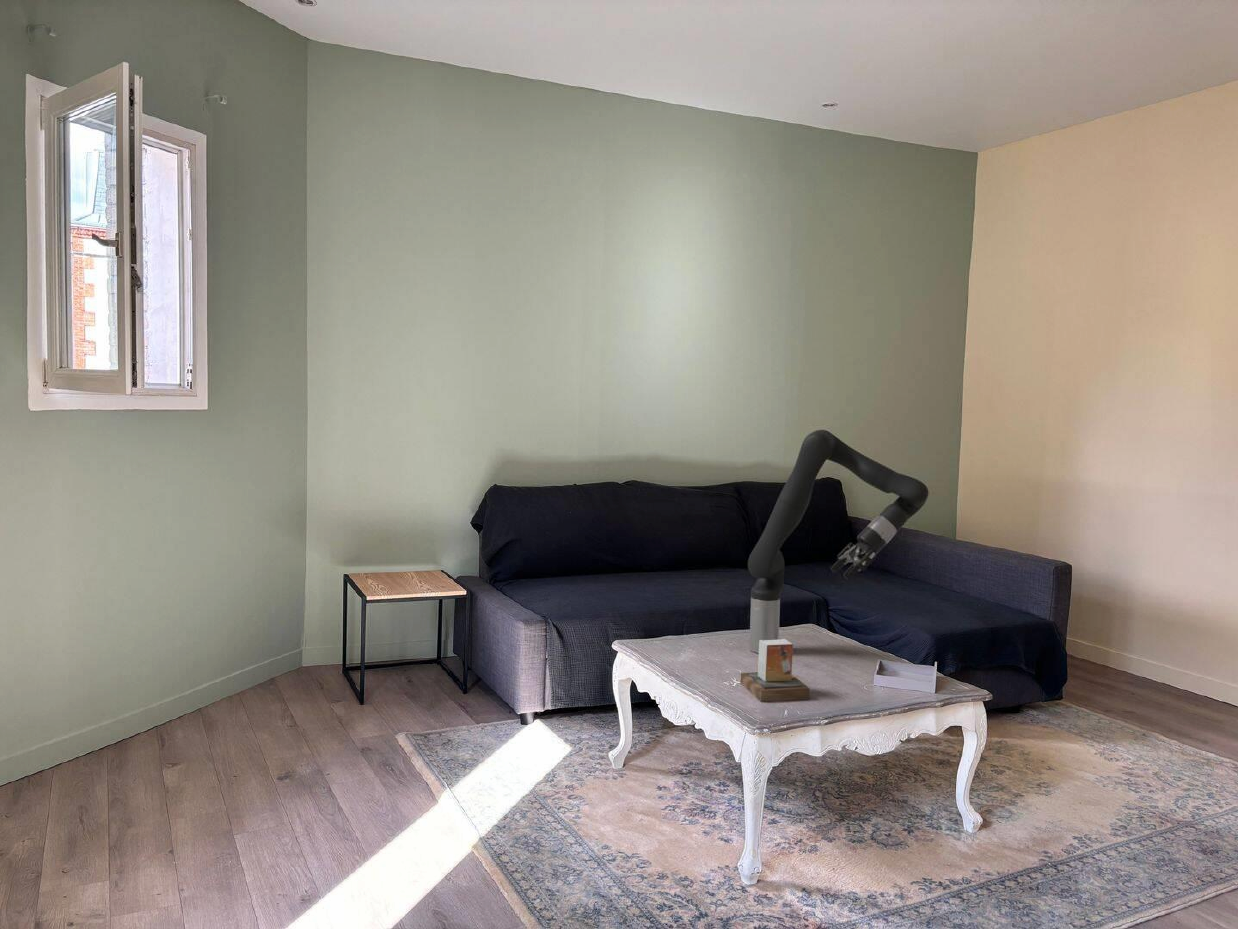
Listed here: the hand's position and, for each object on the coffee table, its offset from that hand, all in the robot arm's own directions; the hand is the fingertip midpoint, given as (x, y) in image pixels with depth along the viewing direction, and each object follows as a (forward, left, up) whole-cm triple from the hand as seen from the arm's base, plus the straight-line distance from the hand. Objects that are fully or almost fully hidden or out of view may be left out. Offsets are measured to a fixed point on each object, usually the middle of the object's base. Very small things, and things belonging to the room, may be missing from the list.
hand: (839, 574), depth 274 cm
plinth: (+9, -23, -31) cm, 39 cm away
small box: (+9, -22, -27) cm, 37 cm away
